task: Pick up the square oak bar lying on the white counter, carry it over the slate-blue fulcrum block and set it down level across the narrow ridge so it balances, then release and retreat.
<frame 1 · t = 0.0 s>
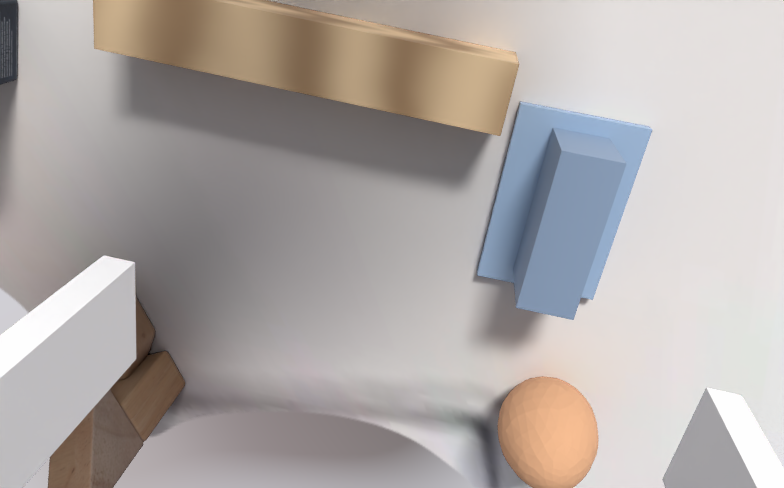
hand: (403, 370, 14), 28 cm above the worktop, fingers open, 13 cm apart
wooden block: (140, 333, 51), on the worktop
oak bar: (319, 45, 40), on the worktop
egg: (542, 391, 48), on the worktop
fulcrum: (557, 203, 41), on the worktop
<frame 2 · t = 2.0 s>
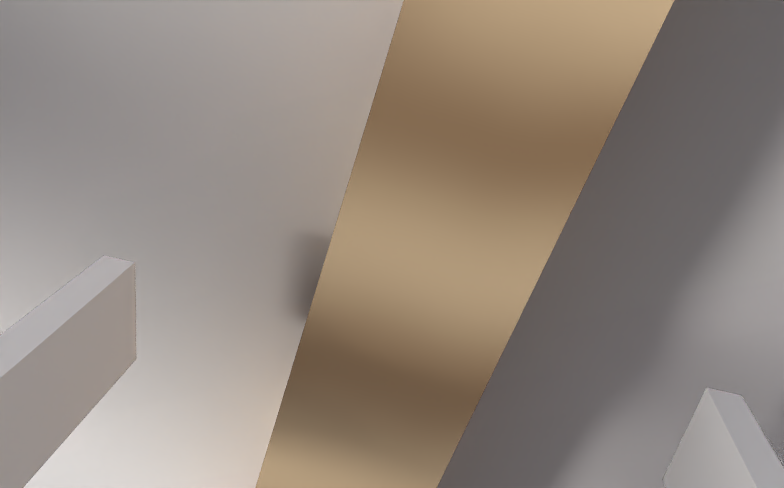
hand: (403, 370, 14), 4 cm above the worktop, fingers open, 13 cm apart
oak bar: (405, 282, 18), on the worktop
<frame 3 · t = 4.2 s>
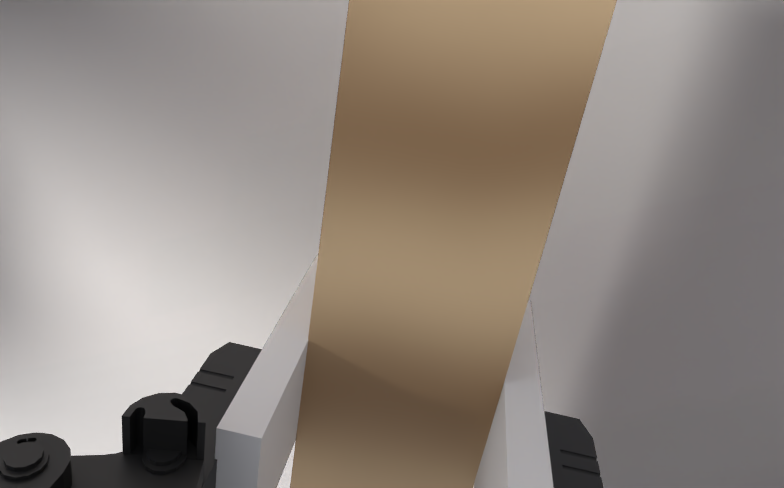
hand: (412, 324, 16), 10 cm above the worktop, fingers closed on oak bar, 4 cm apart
oak bar: (418, 297, 18), point 9 cm above the worktop, touching gripper
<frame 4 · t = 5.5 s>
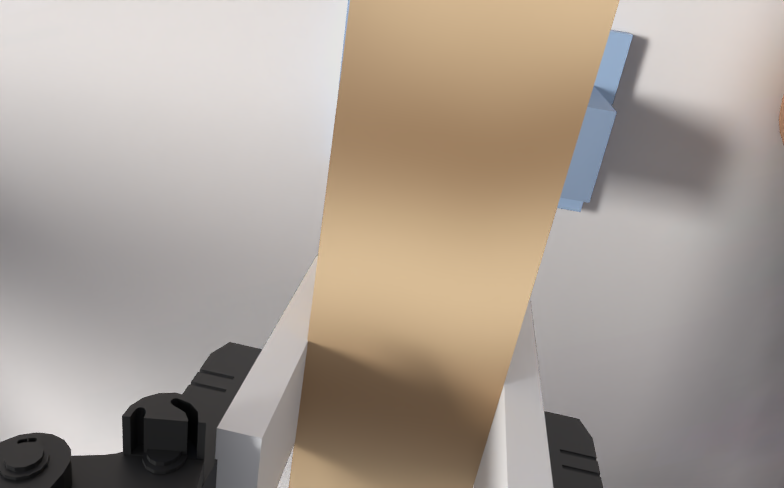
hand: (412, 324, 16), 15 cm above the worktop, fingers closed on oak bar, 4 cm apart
oak bar: (417, 299, 18), point 14 cm above the worktop, touching gripper
fulcrum: (470, 101, 29), on the worktop
when the fingers open (7 cm above the worktop, at t = 7.1 s): oak bar stays where it is, resting on fulcrum.
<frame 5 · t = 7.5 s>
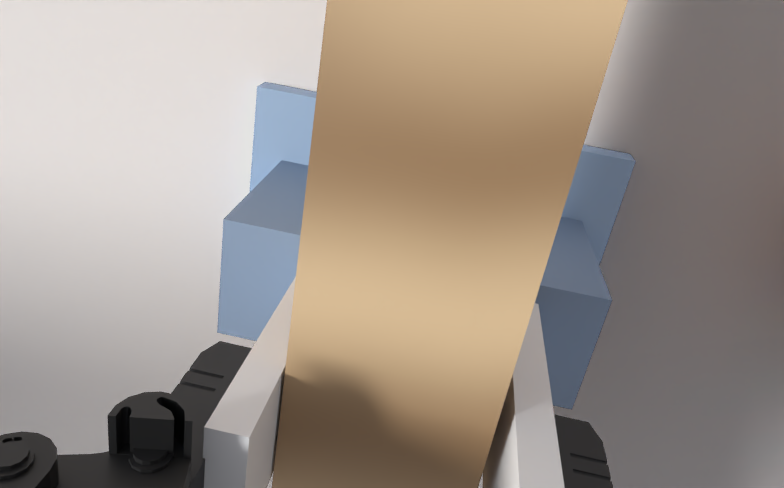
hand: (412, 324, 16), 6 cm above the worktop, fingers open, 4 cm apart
oak bar: (406, 318, 17), point 6 cm above the worktop, touching fulcrum
fulcrum: (422, 228, 22), on the worktop
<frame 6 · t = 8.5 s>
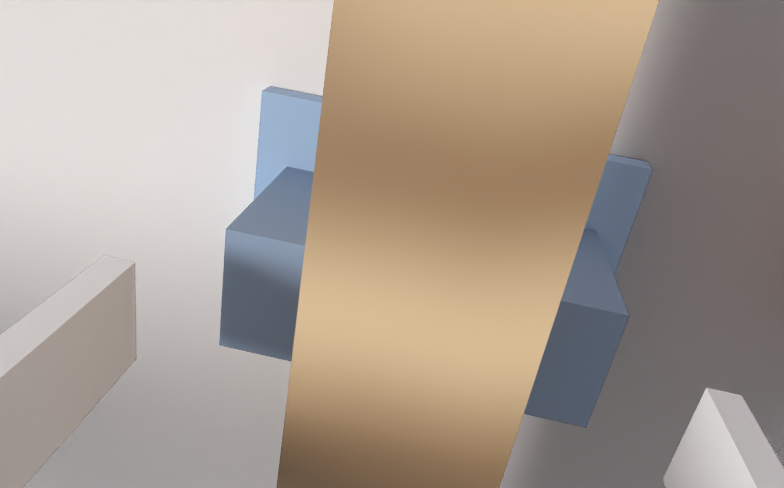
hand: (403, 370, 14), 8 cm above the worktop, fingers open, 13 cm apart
oak bar: (415, 332, 16), point 6 cm above the worktop, touching fulcrum
fulcrum: (430, 237, 21), on the worktop
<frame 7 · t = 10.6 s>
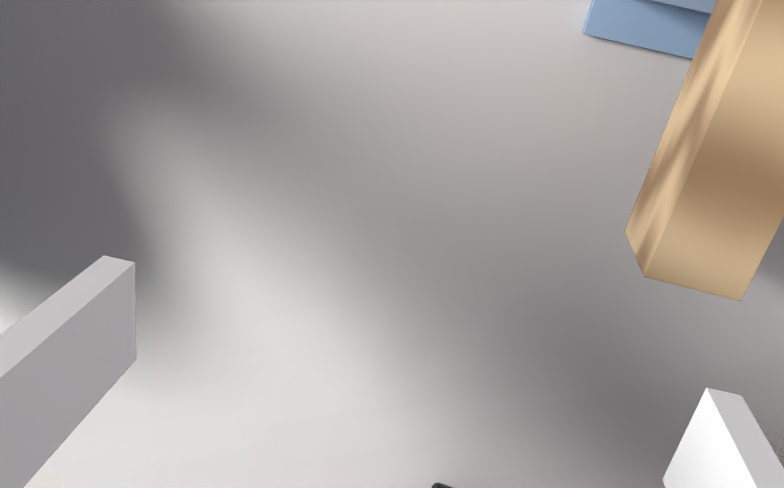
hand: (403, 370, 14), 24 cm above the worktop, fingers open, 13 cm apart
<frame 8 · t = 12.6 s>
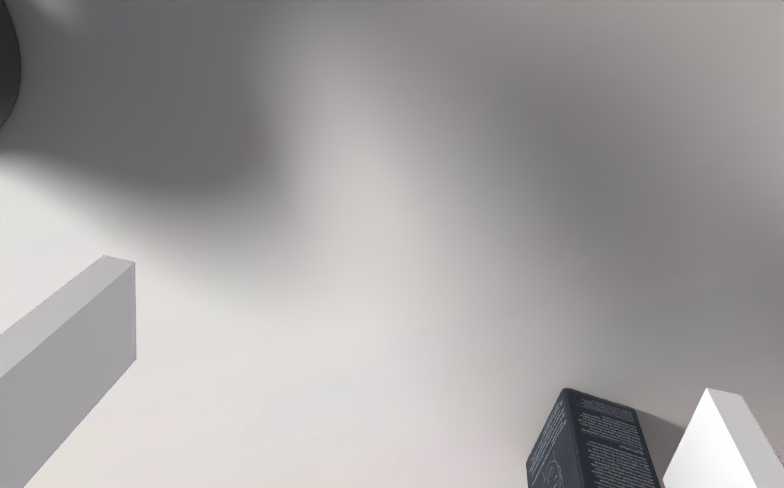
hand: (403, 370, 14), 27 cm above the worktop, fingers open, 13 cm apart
box: (578, 433, 47), on the worktop
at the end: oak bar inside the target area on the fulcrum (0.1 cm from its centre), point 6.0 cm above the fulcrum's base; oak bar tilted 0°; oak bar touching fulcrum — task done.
